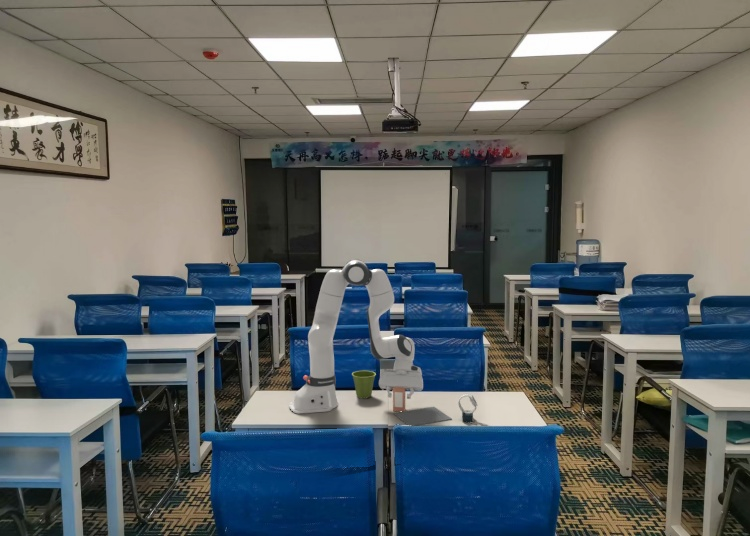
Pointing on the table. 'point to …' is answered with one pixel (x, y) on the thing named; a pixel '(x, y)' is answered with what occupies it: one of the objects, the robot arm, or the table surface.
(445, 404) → the table surface
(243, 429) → the table surface
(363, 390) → the plant pot
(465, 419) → the watch
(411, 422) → the mat
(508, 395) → the table surface
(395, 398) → the block
